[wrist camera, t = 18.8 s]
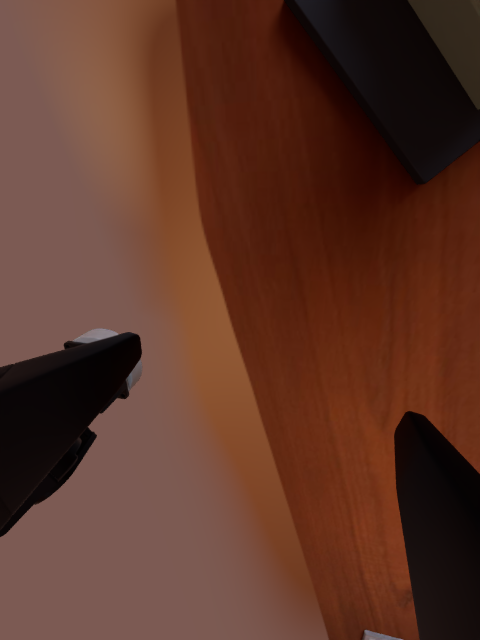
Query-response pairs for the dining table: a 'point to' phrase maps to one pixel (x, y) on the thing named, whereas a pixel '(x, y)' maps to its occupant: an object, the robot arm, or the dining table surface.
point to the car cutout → (376, 636)
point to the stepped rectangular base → (406, 71)
